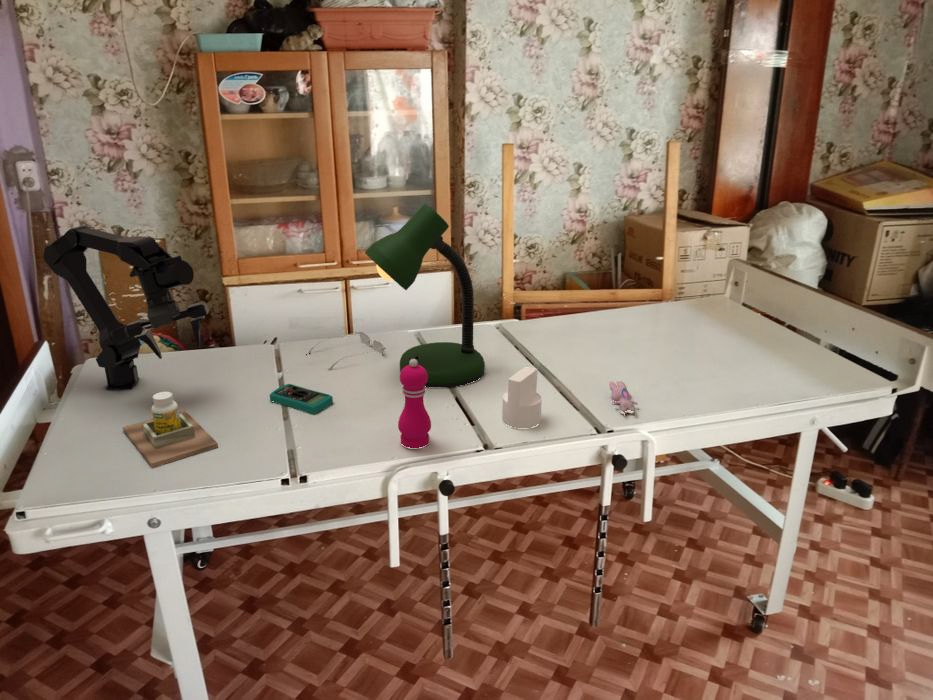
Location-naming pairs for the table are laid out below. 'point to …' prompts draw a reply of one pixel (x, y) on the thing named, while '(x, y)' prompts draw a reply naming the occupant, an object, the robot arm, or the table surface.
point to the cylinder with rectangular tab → (522, 400)
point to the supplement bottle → (165, 413)
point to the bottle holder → (169, 440)
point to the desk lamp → (402, 264)
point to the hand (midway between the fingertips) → (180, 352)
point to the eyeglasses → (364, 339)
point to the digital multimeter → (301, 398)
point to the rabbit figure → (621, 396)
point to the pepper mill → (414, 407)
